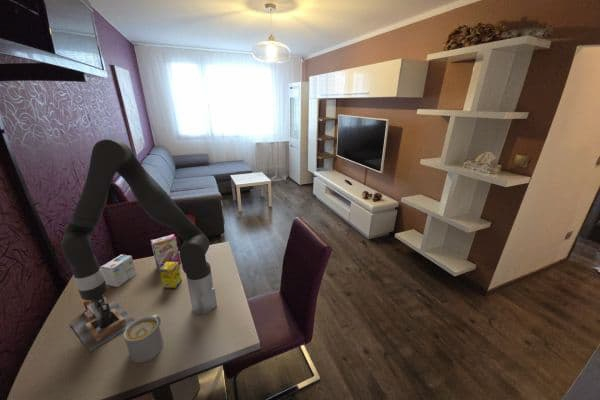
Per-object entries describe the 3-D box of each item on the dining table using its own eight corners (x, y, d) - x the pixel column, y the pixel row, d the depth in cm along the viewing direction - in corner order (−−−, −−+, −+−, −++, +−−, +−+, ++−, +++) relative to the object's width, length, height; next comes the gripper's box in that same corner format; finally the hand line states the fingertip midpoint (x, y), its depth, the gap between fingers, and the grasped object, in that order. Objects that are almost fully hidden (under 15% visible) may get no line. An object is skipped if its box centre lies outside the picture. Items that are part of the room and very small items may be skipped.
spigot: (115, 322, 95) (107, 299, 91) (101, 330, 91) (92, 306, 87) (110, 317, 97) (102, 294, 93) (97, 325, 94) (87, 301, 89)
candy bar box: (158, 272, 127) (151, 244, 121) (156, 267, 130) (149, 240, 124) (181, 263, 133) (176, 237, 127) (178, 259, 137) (173, 233, 131)
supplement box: (176, 288, 115) (172, 269, 111) (163, 288, 115) (159, 269, 111) (182, 280, 121) (178, 261, 117) (170, 280, 121) (166, 261, 117)
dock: (136, 322, 97) (134, 314, 96) (90, 352, 86) (86, 342, 84) (114, 301, 108) (111, 293, 106) (70, 324, 96) (66, 316, 94)
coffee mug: (148, 365, 81) (141, 343, 78) (123, 358, 83) (116, 337, 80) (176, 331, 93) (171, 311, 90) (154, 326, 96) (148, 306, 92)
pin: (104, 315, 99) (101, 307, 98) (94, 320, 97) (91, 312, 95) (94, 303, 105) (91, 296, 103) (84, 308, 102) (81, 300, 101)
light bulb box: (126, 271, 127) (121, 253, 123) (137, 273, 125) (132, 255, 121) (106, 285, 117) (100, 266, 113) (118, 287, 116) (111, 268, 112)
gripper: (112, 284, 86) (124, 321, 92) (96, 269, 94) (108, 304, 100) (85, 297, 80) (100, 335, 87) (70, 280, 88) (85, 317, 94)
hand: (104, 319), depth 93 cm, fingers closed on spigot, 4 cm apart
